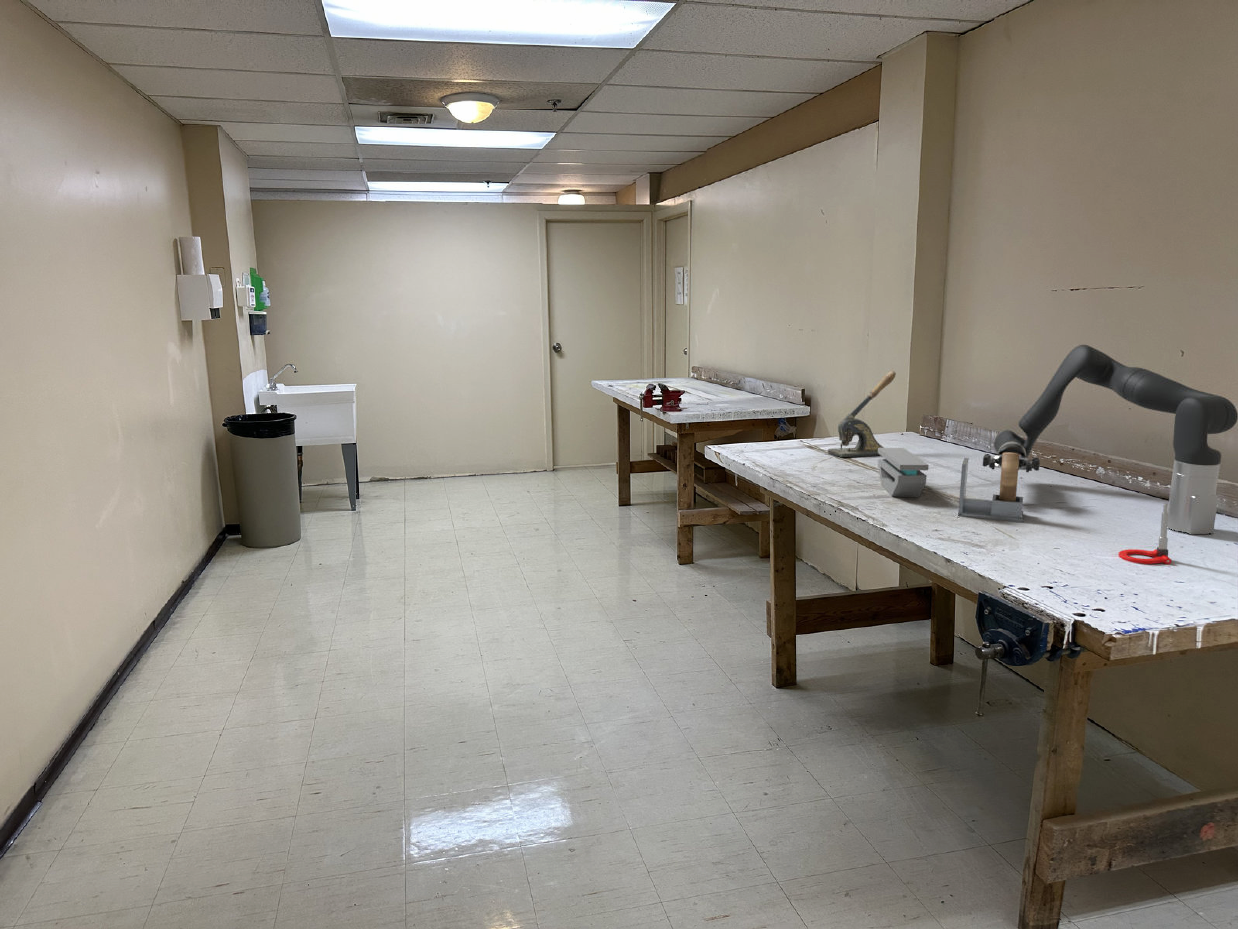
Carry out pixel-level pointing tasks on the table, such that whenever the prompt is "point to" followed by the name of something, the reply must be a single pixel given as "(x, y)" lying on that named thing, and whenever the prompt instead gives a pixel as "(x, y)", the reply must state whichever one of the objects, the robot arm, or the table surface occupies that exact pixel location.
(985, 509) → the bracket
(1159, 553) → the tow hook
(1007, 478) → the tan wooden cylinder
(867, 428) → the embossing press
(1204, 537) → the table surface
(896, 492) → the grey lidded box
